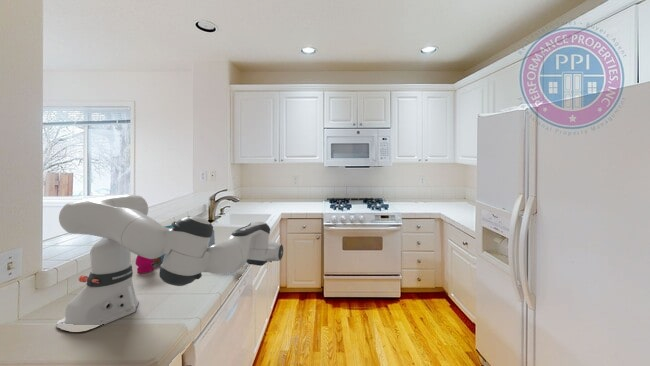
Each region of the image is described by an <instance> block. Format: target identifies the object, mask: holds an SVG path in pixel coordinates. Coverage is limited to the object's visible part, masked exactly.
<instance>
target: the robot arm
mask: <svg viewBox="0 0 650 366" xmlns="http://www.w3.org/2000/svg"><path fill="white" fill-rule="evenodd" d="M148 214H149V205H148V202H147V200H146V199H145V198H143V196H140V195H134V194H121V195H110V196H103V197H102V196H101V197H93V198H84V199H80V200H76V201H72V202H69V203H66V204H65V205H63V207H62V208H61V209H60V212H59V214H58V222H59V224H60V226H61V228H62V229H63V230H64V231H65V232H67V233H68V234H71V235H72V234H74V235H88V236H95V237H98V238H101V239H100V240H98V241H97V242H96V243H94V245H93V246H92V247H91V248H90V252H89V255H90V256H89V257H90V269H91V271H90V272H89V275H88V276H87V275H79V277H78V282H79V283H86V285H85V286H84V287H83V288H82V289H81V290H80V291H79V292H78V293H77V294H76V295H75V296H74V297H73V298H72V299H71V300H70V301H68V303H67V305H66V308H65V314H64V315H65V316H64V317H63V318H62V319H59V320H58V321H56V325H57V324H73V325H101V324H104V325H106V324H109V323H111V322H113V321H116V320H119V319H121V318H123V317H126V316H129V315H131V314H133V313H135V312H137V306H138V305H139V300H138V298H137V295H136V291H135V287H134V283H133V264H132V263H131V253H133V254H135V255H136V256H138V255H139V256H142V257H145V258H148V259H155V258H158V257H160V256H162V255H164V254H165V256H164V260H163V264H162V263H161V264H160V267H159V274H158V275H159V278H160V280H161V281H163V282H164V283H165V284H168V285H171V286H176V287H183V286H187V285H189V284H192V283H193V282H194V281H196V280H200V279H201V278H202V277H203V275H202V273H203V272H207V273H210V274H214V275H227V274H231V273H234V272H237V271H239V270H240V269H242V268H243V267H244V266H245V265H246V263H247V264H248V265H252V266H260V267H261V266H262V267H263V266H264V265H266V264H267V263H268V262H279V261H282V259H283V256H284V246H283V244H282V243H279V242H275V241H270V233H271V227H270V225H269V224H267V222H264V221H253V222H250V223H249V224H248V225H245V226H242V227H240V228H236V229H235V230H234V231H232V233H231V234H230V235H229V237H228V238H227V239H226V240H225V241H219V242H217V243H215V244H214V245H212V246H210V247H208V244H209V241H210V237H212V233H213V230H214V226H213V224H212V223H211V222H209V220H207V219H206V218H204V217H201V216H198V215H197V216H196V215H193V216H191V215H188V216H185V217H181V218H180V219H178V220H176V221H173V222H171V225H172V226H173V227H174V228H166V227H164V225H162V224H160V222H158V221H157V220H155V219H153V218H152V217H150V216H148Z"/></svg>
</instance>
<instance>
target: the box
mask: <svg viewBox="0 0 650 366" xmlns="http://www.w3.org/2000/svg"><path fill="white" fill-rule="evenodd" d="M215 240H216V239H215V230H214V229H213V233H212V237H210V241H209V244H208V247H210V246H212V245H214V244H216V243H215V242H216V241H215Z"/></svg>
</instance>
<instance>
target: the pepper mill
mask: <svg viewBox="0 0 650 366" xmlns="http://www.w3.org/2000/svg"><path fill="white" fill-rule="evenodd" d="M153 262H154V260H153V259H148V258H145V257H142V256H139V255H136V258H135V266H136V267H137V269H136V270H137V273H138V274H146V273H150V272H152V271H153V270H154V268H153V267H154V265H153V264H152V263H153Z"/></svg>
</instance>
